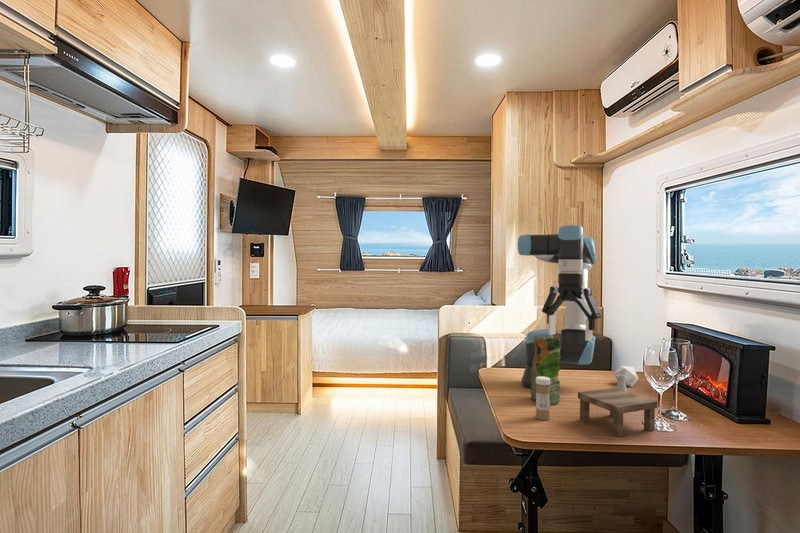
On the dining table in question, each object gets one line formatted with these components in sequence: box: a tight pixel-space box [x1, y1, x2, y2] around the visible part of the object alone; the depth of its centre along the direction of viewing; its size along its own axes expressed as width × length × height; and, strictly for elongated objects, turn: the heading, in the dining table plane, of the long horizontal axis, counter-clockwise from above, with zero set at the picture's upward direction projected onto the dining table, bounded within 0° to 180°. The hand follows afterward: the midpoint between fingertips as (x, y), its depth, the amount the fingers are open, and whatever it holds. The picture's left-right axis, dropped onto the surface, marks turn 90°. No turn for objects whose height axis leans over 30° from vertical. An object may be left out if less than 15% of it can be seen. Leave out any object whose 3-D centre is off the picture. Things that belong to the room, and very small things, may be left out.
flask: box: [615, 375, 629, 392], centre depth 159 cm, size 7×7×10 cm
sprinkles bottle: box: [535, 376, 551, 421], centre depth 143 cm, size 5×5×14 cm
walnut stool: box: [577, 386, 658, 438], centre depth 137 cm, size 16×16×9 cm
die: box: [614, 365, 639, 388], centre depth 183 cm, size 8×9×10 cm
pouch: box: [530, 335, 562, 406], centre depth 161 cm, size 11×12×25 cm
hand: (569, 337), depth 142 cm, fingers open, 13 cm apart
